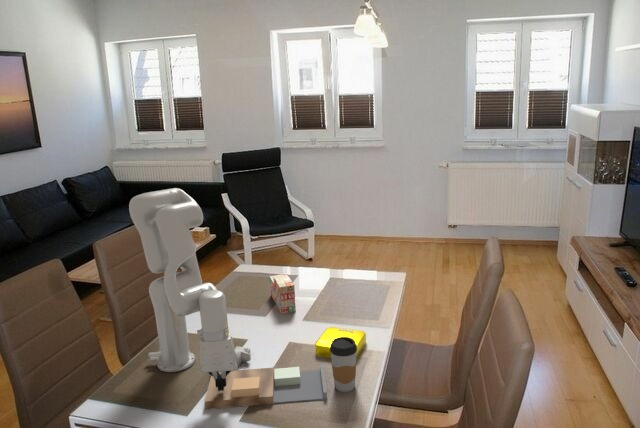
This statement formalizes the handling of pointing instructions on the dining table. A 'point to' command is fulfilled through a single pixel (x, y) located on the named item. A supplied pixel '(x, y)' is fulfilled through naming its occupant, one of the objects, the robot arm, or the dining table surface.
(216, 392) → the board
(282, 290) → the stack of blocks
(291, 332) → the dining table surface
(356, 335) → the element tile
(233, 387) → the light orange flat block
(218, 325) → the robot arm
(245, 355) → the bunny figurine
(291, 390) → the grey square tray
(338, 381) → the coffee cup
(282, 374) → the sage tile
